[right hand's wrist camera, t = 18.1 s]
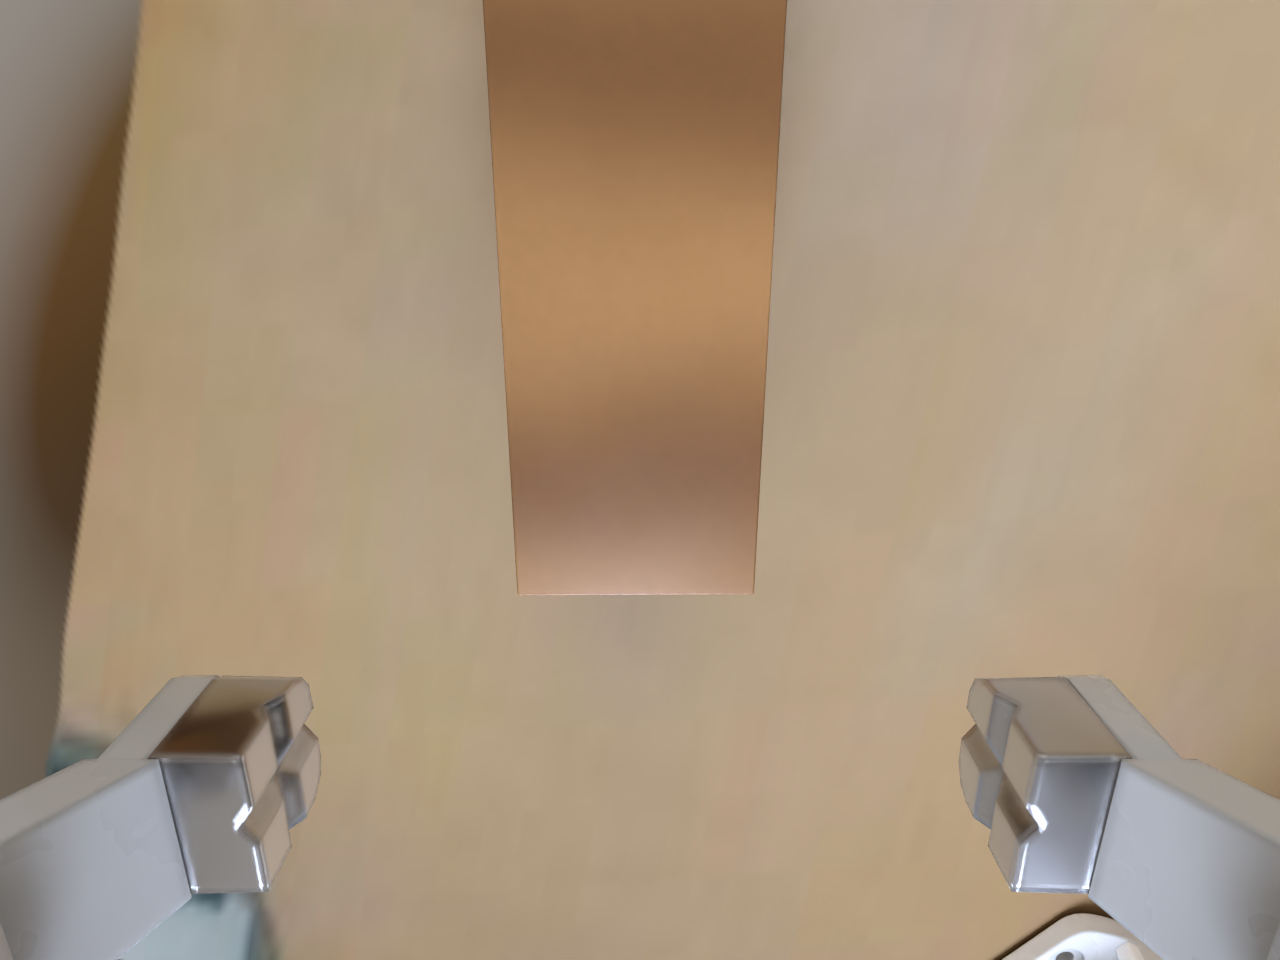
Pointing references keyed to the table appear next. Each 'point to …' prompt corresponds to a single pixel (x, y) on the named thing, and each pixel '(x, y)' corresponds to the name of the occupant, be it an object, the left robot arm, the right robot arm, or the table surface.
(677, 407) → the box
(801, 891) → the table surface
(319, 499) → the table surface
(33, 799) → the right robot arm
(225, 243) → the table surface
